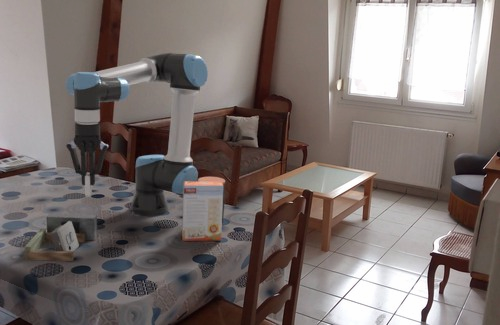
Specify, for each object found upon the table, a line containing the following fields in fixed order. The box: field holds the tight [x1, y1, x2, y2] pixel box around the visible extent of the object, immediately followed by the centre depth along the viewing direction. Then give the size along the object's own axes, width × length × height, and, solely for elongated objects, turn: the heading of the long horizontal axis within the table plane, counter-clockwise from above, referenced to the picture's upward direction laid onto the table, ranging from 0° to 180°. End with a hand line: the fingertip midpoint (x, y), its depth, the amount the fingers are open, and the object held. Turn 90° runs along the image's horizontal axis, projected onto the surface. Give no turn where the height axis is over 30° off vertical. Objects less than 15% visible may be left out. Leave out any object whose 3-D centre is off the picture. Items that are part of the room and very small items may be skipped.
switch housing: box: [46, 212, 98, 241], centre depth 179 cm, size 16×5×8 cm, turn 95°
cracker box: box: [181, 181, 223, 242], centre depth 185 cm, size 14×6×21 cm, turn 100°
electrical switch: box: [51, 221, 80, 251], centre depth 168 cm, size 9×5×9 cm, turn 176°
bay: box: [24, 228, 86, 262], centre depth 169 cm, size 15×17×4 cm
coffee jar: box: [197, 176, 226, 225], centre depth 200 cm, size 11×11×18 cm
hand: (88, 194), depth 166 cm, fingers closed
